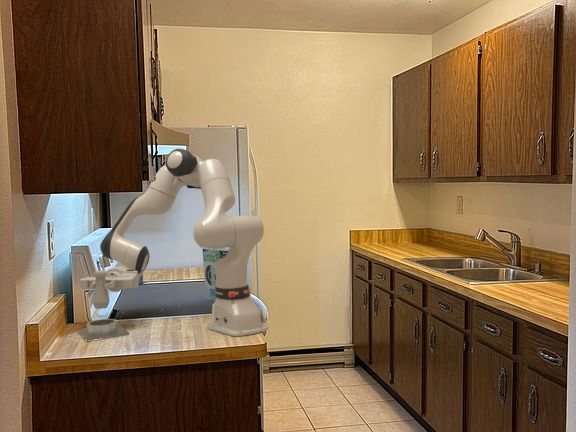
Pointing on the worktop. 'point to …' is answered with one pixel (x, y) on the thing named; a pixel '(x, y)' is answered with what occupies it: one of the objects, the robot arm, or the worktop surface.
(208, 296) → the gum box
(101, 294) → the salt shaker
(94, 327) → the duct flange
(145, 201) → the robot arm
